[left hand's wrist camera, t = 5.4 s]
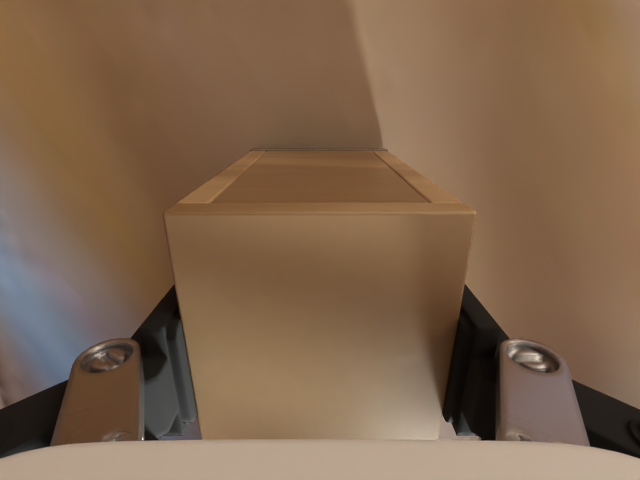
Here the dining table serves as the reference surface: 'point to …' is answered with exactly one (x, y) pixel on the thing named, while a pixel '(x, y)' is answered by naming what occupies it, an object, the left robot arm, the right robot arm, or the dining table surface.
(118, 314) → the dining table surface
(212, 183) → the wooden crate box
